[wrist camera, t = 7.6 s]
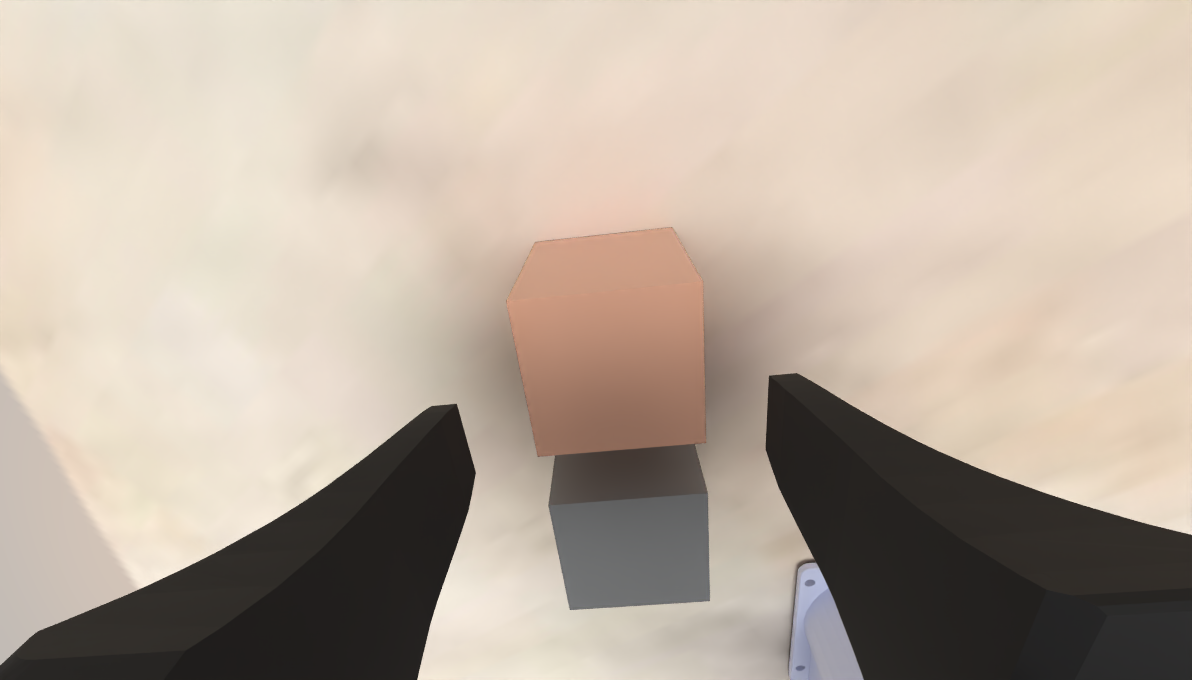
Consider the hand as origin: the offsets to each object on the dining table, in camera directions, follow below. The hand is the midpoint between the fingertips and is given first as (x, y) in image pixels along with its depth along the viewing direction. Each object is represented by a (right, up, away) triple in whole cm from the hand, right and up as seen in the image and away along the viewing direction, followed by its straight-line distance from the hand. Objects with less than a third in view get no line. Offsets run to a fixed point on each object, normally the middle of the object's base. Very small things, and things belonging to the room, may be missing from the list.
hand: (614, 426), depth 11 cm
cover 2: (+1, -3, +10) cm, 11 cm away
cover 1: (0, +4, +7) cm, 8 cm away
